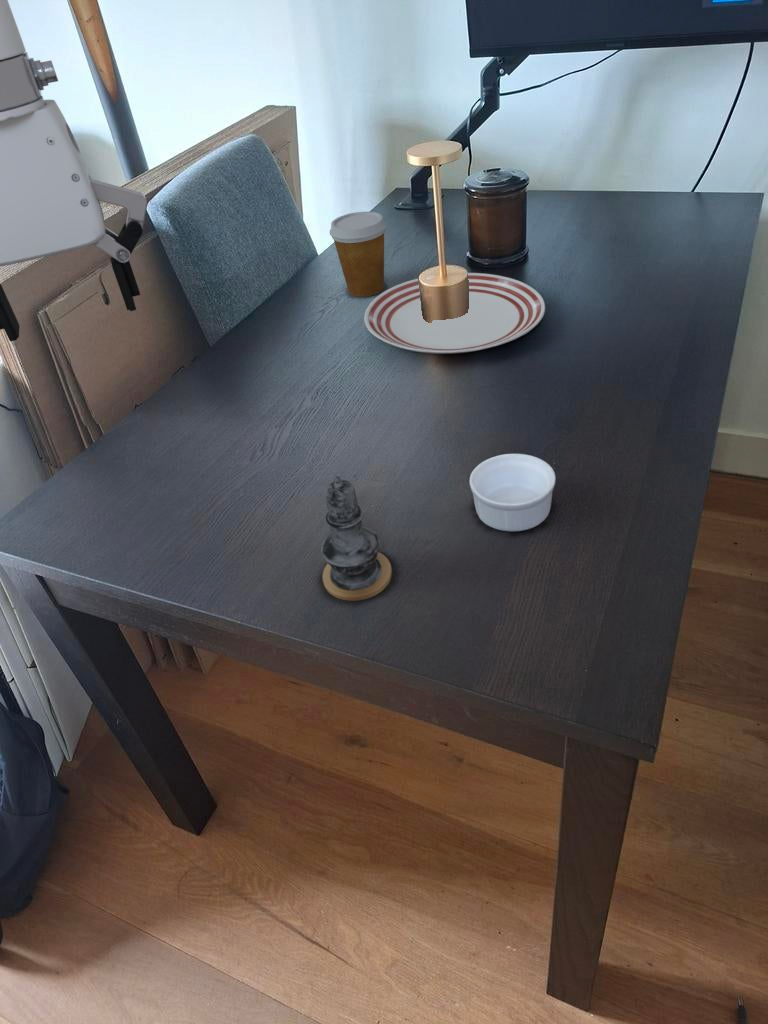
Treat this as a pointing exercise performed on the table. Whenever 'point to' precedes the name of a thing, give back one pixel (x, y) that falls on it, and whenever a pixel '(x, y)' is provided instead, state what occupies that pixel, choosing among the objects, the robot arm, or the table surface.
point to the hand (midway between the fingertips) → (73, 319)
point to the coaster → (362, 593)
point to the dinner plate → (489, 322)
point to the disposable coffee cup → (361, 251)
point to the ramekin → (512, 491)
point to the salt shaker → (349, 540)
